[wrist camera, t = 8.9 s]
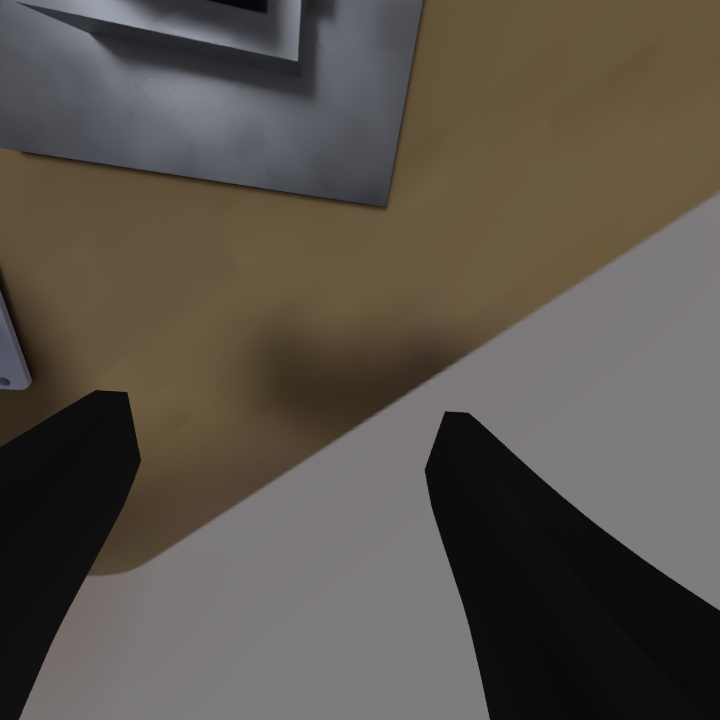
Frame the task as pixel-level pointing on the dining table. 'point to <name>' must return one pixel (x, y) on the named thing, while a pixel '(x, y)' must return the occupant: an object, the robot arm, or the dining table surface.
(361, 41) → the stand base
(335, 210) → the dining table surface
